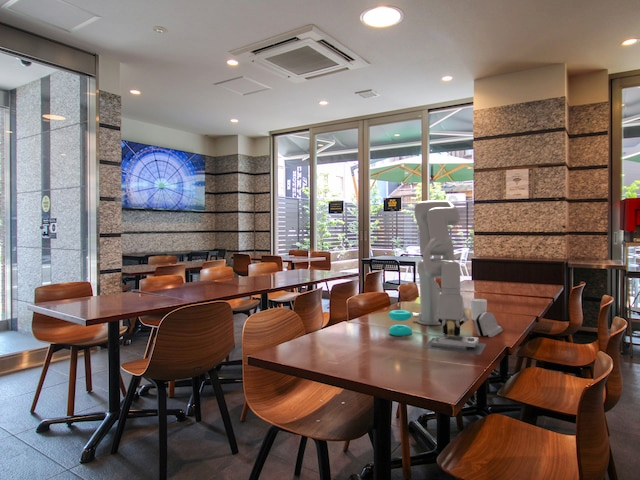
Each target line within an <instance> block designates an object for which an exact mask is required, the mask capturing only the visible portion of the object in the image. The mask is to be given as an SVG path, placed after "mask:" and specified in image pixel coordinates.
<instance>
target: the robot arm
mask: <svg viewBox="0 0 640 480" xmlns="http://www.w3.org/2000/svg"><path fill="white" fill-rule="evenodd" d="M413 213H414V219H415V221H416V223H417V227H418V237H419V252H420V253H421V255H422V259H420V260H419V261H418V264H417V273H418V277H419V278H418V279H419V300H420V301H419V302H420V303H419V307H420V308H419V309H420V311H419V312H418V313H416V312H411V314H412V317H413V318H417V321H416V322H417V323H418V324H421V325H427V326H437V325H439V326H440V325H441V326H442V333H443V335H444V334H447V332H446V319H448V320H456V335H457V336H461V326H462V325H463V324H465V323H467V322H468V321H469V320H470V318H469V316H468V315H467V313H466V311H465V304H464V297H463V295H462V294H461V265H460V263H459V262H457V261H456V260H455V254H454V253H455V252H454V244H453V240H452V238H450V232H449V226H456V225H458V224H459V223H460V212H459V210H458V208H457V206H455V205H454V204H453V203H452V202H451V201H450V200H423V201H419V202H417V203H416V204H415V206H414V212H413ZM434 256H435V257H439V256H441V257H442V258H431V257H434ZM435 279H440V282H441V284H439V283H438V282H437V280H435ZM440 285H441V287H440Z"/></svg>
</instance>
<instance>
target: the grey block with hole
mask: <svg viewBox="0 0 640 480" xmlns="http://www.w3.org/2000/svg"><path fill="white" fill-rule="evenodd" d="M434 338H435V339H434V340H433V341H432V342H431V346H433V347H442V348H450V349H459V350H467V349H468V348H471V349H473V348H474V347H475V346H476V345H477V343H479V337H475V336H468V335H467V336H465V335H459V336H457V335H447V334H444V333H443V334H442V336H441V337H440V336H436V337H434Z"/></svg>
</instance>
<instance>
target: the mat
mask: <svg viewBox="0 0 640 480" xmlns="http://www.w3.org/2000/svg"><path fill="white" fill-rule="evenodd" d="M435 338H436V337H433V338H431V339H430V340H429V341H428V342H427V343H425V344H424V346H422V348H423V349H428V350H436V351H445V352H453V353H461V354H469V355H470V354H471V355H477V356H479V355H482V353H483V352H484V350H485V348H486V346H487V343H481V342H478V343H477V345H476V346H475V347H474V348H473V349H471V348H468V349H467V350H459V349H450V348H442V347H433V346H431V342H432V341H433V340H434V339H435Z"/></svg>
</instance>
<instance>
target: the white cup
mask: <svg viewBox="0 0 640 480" xmlns="http://www.w3.org/2000/svg"><path fill="white" fill-rule="evenodd" d="M469 301H470V302H469V303H470V314H471V320H472V321H474V319H475V317H476V316H477V315H479V314H481V313H487V312H488V311H487V310H488V308H487V305H488V300H487V299H485V298H471V299H469Z"/></svg>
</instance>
